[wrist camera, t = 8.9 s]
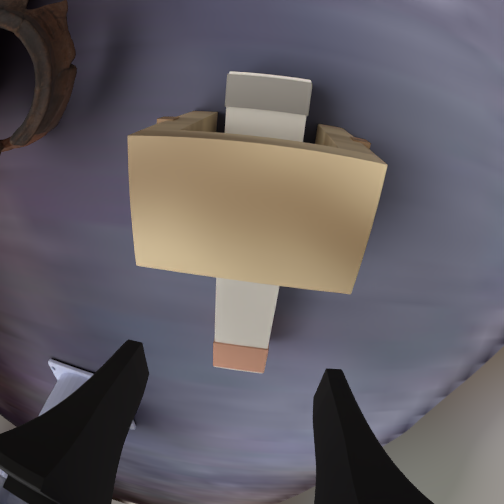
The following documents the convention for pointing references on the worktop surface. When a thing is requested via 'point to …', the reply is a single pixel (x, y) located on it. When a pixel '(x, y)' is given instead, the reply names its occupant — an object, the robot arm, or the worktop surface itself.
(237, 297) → the white bar
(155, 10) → the worktop surface
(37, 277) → the worktop surface
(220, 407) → the worktop surface
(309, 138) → the worktop surface
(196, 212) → the tan wooden brick
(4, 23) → the pottery mug
